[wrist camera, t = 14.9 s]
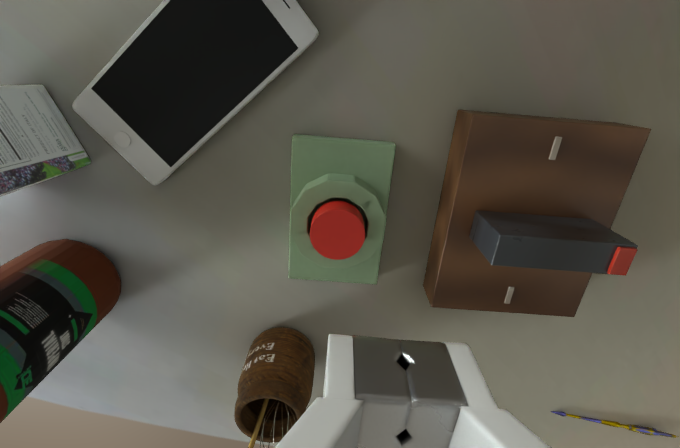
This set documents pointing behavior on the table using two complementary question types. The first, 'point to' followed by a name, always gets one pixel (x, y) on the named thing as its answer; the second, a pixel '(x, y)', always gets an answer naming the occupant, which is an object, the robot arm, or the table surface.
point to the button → (337, 230)
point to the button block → (338, 185)
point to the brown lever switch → (524, 203)
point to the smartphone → (190, 76)
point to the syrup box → (34, 139)
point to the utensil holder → (274, 384)
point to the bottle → (49, 311)
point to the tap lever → (551, 243)
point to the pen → (621, 425)
